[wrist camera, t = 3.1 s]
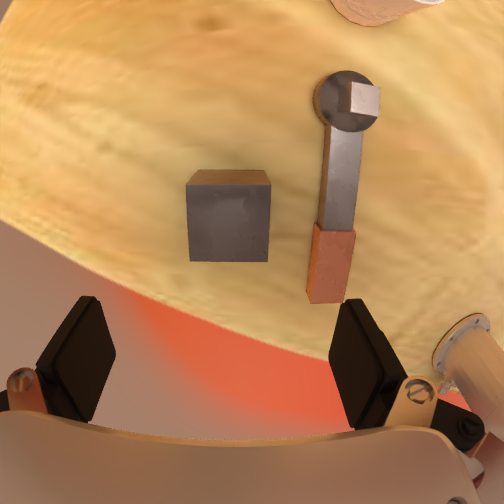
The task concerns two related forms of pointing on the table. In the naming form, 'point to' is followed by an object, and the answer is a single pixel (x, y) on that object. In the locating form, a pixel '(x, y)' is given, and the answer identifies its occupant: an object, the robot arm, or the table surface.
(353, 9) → the peach tapered cup
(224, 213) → the two-tone cube
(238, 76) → the table surface
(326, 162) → the ratchet
